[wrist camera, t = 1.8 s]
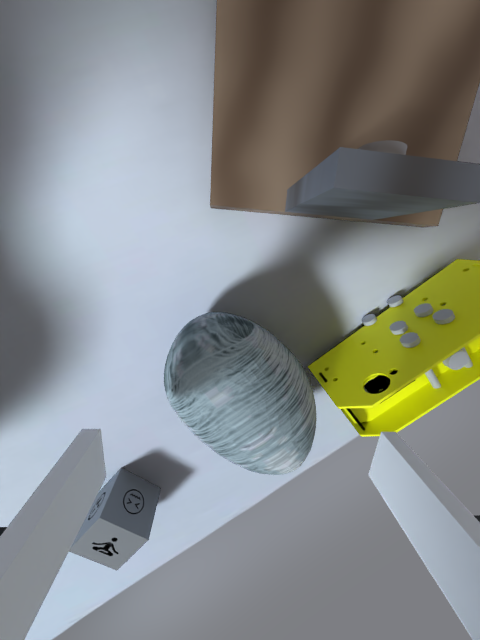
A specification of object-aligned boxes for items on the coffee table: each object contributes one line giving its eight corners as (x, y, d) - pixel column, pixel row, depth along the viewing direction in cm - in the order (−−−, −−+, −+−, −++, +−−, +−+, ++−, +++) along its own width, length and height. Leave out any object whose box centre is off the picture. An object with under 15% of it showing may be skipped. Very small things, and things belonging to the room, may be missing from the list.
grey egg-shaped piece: (131, 338, 19) (119, 473, 11) (229, 265, 18) (292, 356, 10) (226, 405, 27) (257, 507, 20) (296, 357, 26) (358, 446, 19)
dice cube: (95, 495, 26) (68, 550, 22) (121, 467, 26) (99, 517, 21) (134, 514, 28) (117, 570, 23) (160, 487, 27) (148, 540, 22)
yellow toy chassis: (446, 254, 22) (577, 259, 14) (468, 302, 23) (597, 331, 15) (302, 359, 24) (344, 416, 16) (331, 396, 25) (383, 466, 17)
